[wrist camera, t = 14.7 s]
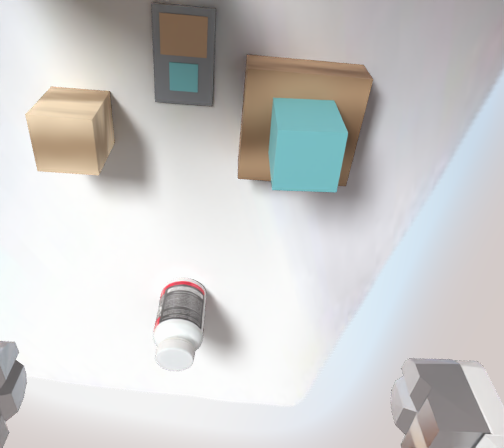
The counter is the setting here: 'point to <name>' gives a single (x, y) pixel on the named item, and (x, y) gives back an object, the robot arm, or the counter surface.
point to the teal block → (306, 145)
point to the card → (183, 53)
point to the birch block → (71, 130)
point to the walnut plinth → (297, 87)
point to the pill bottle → (179, 323)
